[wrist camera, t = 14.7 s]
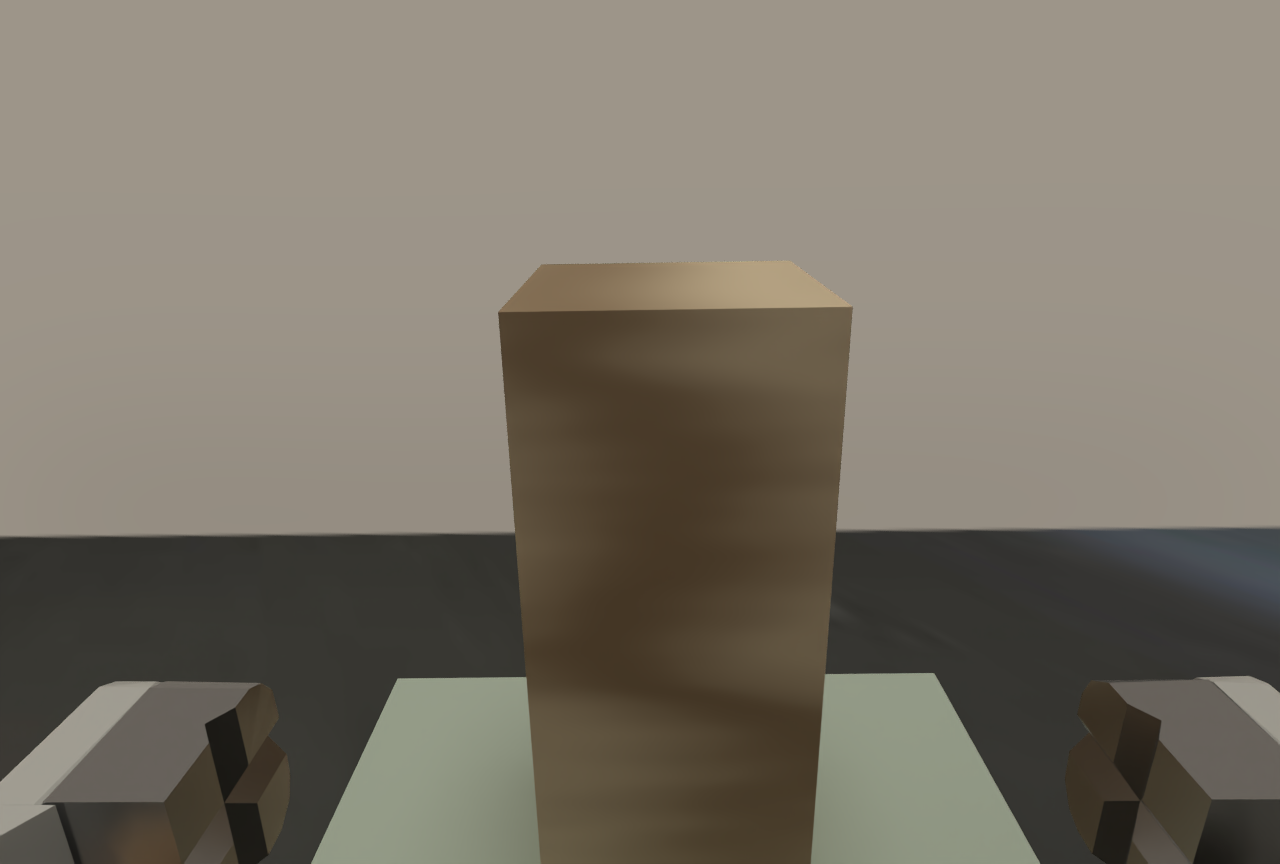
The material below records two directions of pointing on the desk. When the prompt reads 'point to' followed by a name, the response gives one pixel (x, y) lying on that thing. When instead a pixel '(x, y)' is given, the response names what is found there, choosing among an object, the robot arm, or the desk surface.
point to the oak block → (675, 552)
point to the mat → (506, 803)
